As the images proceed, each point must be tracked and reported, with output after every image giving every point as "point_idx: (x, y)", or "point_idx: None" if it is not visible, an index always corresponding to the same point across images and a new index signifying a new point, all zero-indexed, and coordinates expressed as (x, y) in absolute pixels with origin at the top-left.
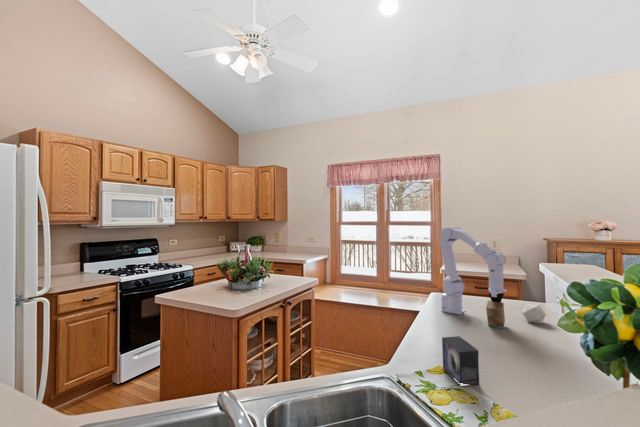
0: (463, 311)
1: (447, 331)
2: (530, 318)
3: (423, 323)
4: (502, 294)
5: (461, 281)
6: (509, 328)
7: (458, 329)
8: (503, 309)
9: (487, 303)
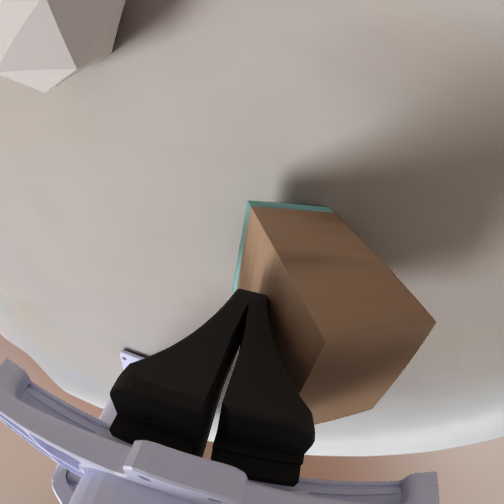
0: (141, 358)
1: (421, 409)
2: (109, 33)
3: (354, 450)
4: (199, 421)
5: (65, 477)
6: (307, 169)
7: (398, 389)
8: (326, 284)
9: (322, 422)
